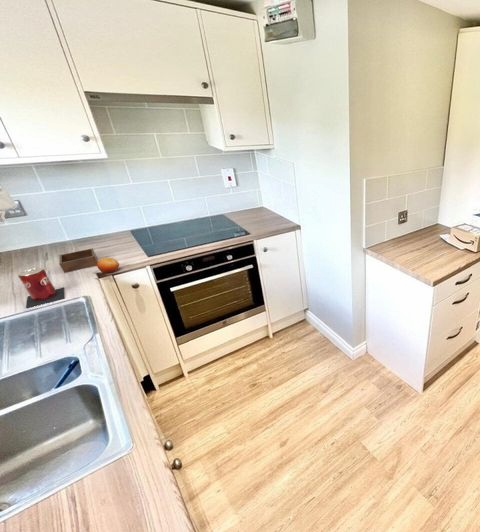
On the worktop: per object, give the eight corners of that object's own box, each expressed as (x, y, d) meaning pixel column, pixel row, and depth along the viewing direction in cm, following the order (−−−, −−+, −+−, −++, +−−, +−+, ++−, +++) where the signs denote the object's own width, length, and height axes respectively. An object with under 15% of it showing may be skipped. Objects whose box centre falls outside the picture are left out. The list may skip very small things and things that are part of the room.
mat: (26, 308, 126) (25, 307, 126) (28, 297, 133) (27, 296, 133) (64, 298, 133) (64, 297, 133) (64, 288, 140) (63, 287, 140)
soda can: (32, 303, 128) (16, 277, 123) (33, 296, 133) (18, 270, 128) (57, 297, 133) (42, 272, 127) (58, 290, 137) (44, 265, 132)
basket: (64, 273, 152) (59, 263, 150) (64, 264, 160) (59, 254, 158) (99, 265, 160) (94, 256, 157) (97, 256, 168) (92, 248, 165)
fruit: (97, 266, 155) (102, 252, 153) (118, 271, 159) (123, 258, 158) (91, 274, 148) (96, 259, 147) (112, 279, 153) (117, 265, 151)
